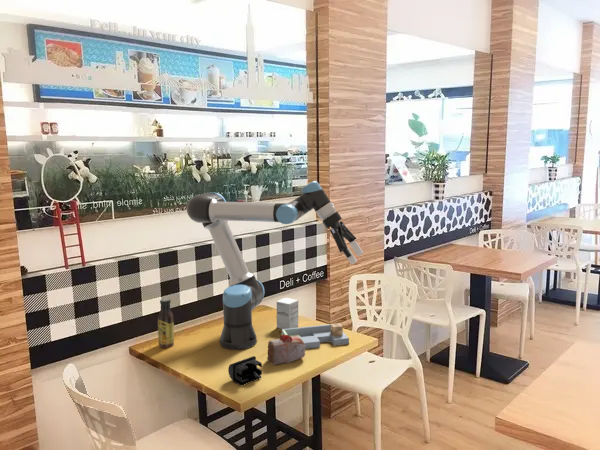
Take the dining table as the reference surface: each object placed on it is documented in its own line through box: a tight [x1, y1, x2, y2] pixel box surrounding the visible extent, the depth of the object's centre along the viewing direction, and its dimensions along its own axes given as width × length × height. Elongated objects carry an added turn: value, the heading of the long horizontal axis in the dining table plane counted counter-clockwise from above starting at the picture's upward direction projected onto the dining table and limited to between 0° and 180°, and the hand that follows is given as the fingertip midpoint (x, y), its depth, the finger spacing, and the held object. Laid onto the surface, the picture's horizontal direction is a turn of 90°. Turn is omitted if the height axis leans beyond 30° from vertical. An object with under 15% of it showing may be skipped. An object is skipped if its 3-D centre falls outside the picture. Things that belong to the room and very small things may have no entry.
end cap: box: [227, 355, 263, 386], centre depth 177 cm, size 10×7×7 cm
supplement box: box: [276, 297, 299, 330], centre depth 226 cm, size 7×7×13 cm
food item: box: [266, 334, 306, 366], centre depth 192 cm, size 14×8×10 cm, turn 119°
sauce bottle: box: [157, 297, 175, 349], centre depth 206 cm, size 7×6×20 cm
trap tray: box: [281, 323, 350, 350], centre depth 210 cm, size 26×11×5 cm, turn 105°
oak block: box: [330, 322, 344, 336], centre depth 212 cm, size 4×4×4 cm
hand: (357, 258), depth 206 cm, fingers open, 13 cm apart
